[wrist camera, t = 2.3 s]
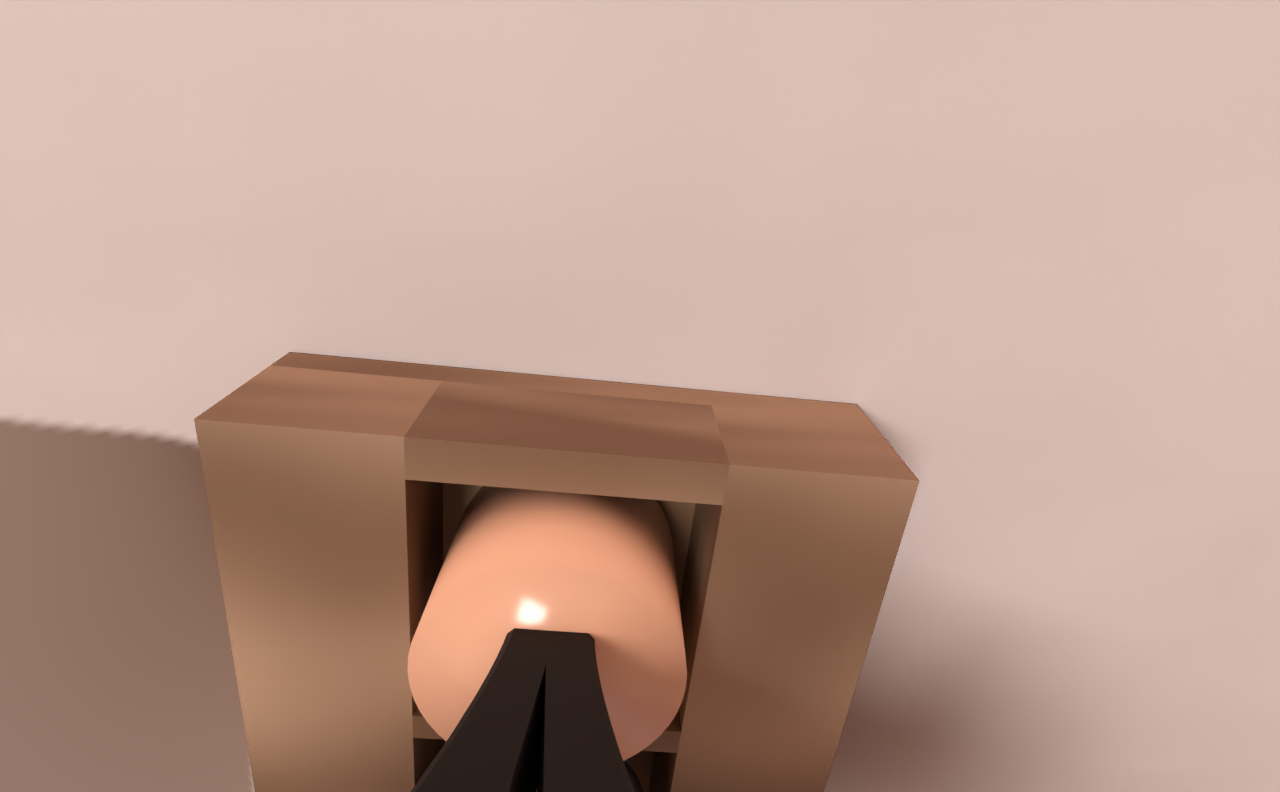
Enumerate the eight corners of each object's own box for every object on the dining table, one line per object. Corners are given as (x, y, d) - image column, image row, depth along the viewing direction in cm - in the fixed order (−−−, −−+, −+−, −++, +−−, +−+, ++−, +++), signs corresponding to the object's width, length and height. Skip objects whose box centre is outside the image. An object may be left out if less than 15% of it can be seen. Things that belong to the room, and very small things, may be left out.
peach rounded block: (659, 642, 15) (668, 783, 12) (456, 629, 15) (410, 769, 12) (685, 466, 14) (705, 576, 10) (456, 447, 13) (403, 553, 10)
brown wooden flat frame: (721, 936, 22) (737, 1069, 19) (345, 921, 21) (298, 1058, 18) (856, 404, 14) (919, 480, 11) (289, 352, 14) (194, 419, 11)
